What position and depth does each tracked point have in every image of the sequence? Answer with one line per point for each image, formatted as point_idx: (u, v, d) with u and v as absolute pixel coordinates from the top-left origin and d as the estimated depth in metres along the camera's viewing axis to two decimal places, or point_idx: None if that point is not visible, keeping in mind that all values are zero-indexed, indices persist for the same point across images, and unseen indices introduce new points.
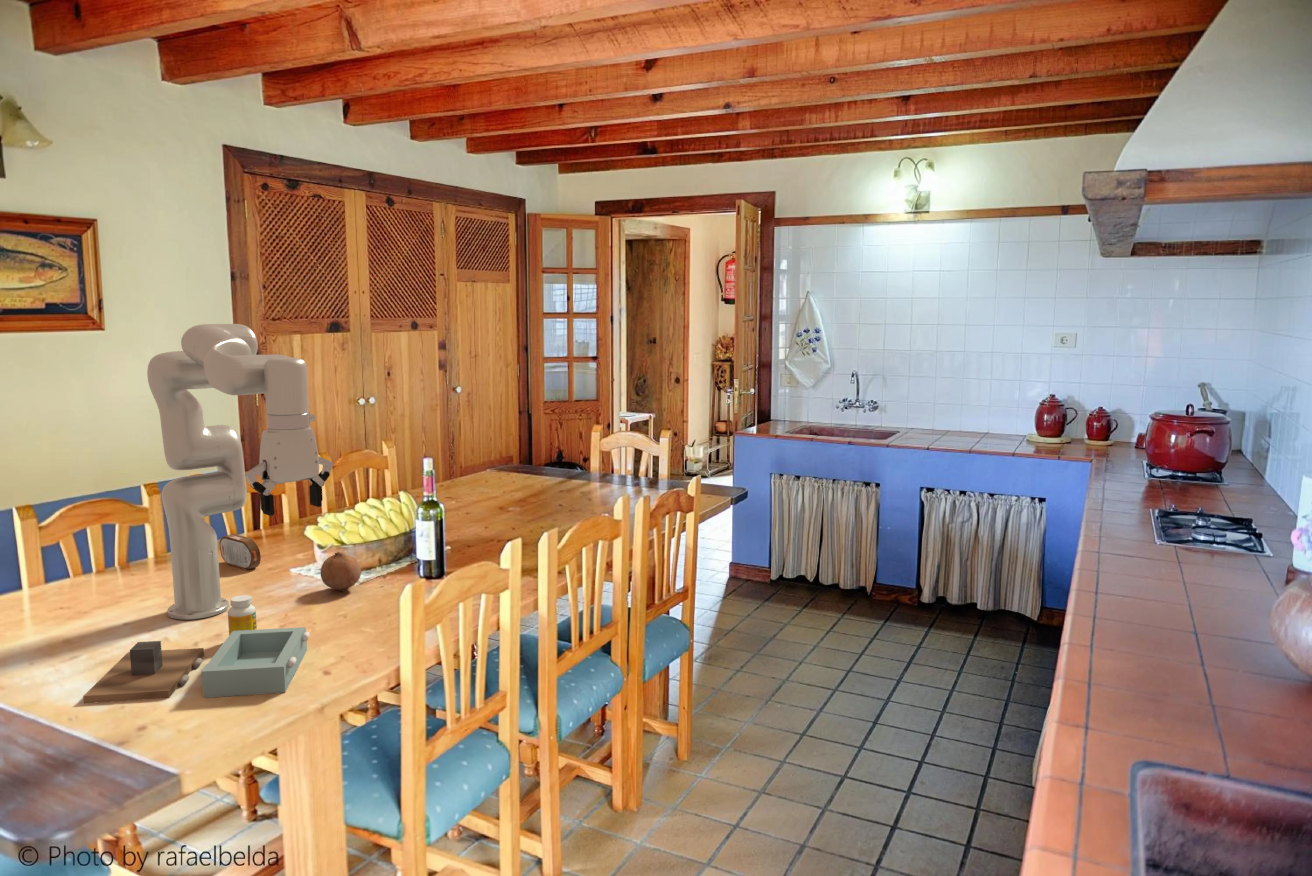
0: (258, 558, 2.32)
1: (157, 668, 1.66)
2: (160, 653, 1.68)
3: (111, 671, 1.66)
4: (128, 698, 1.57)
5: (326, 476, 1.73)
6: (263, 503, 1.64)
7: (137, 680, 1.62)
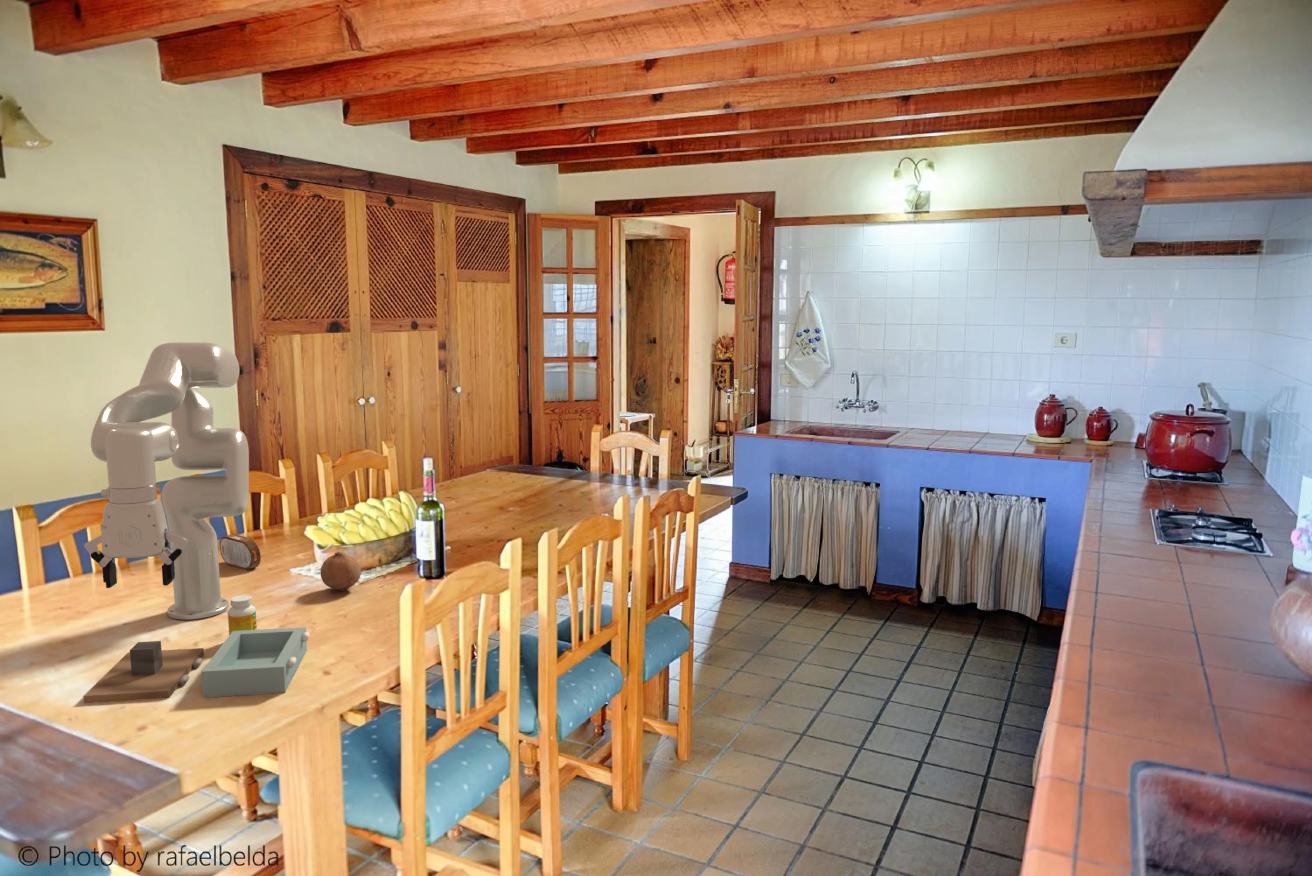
0: (258, 558, 2.32)
1: (158, 668, 1.66)
2: (160, 653, 1.68)
3: (111, 671, 1.66)
4: (128, 698, 1.57)
5: None
6: (173, 570, 1.65)
7: (137, 680, 1.62)
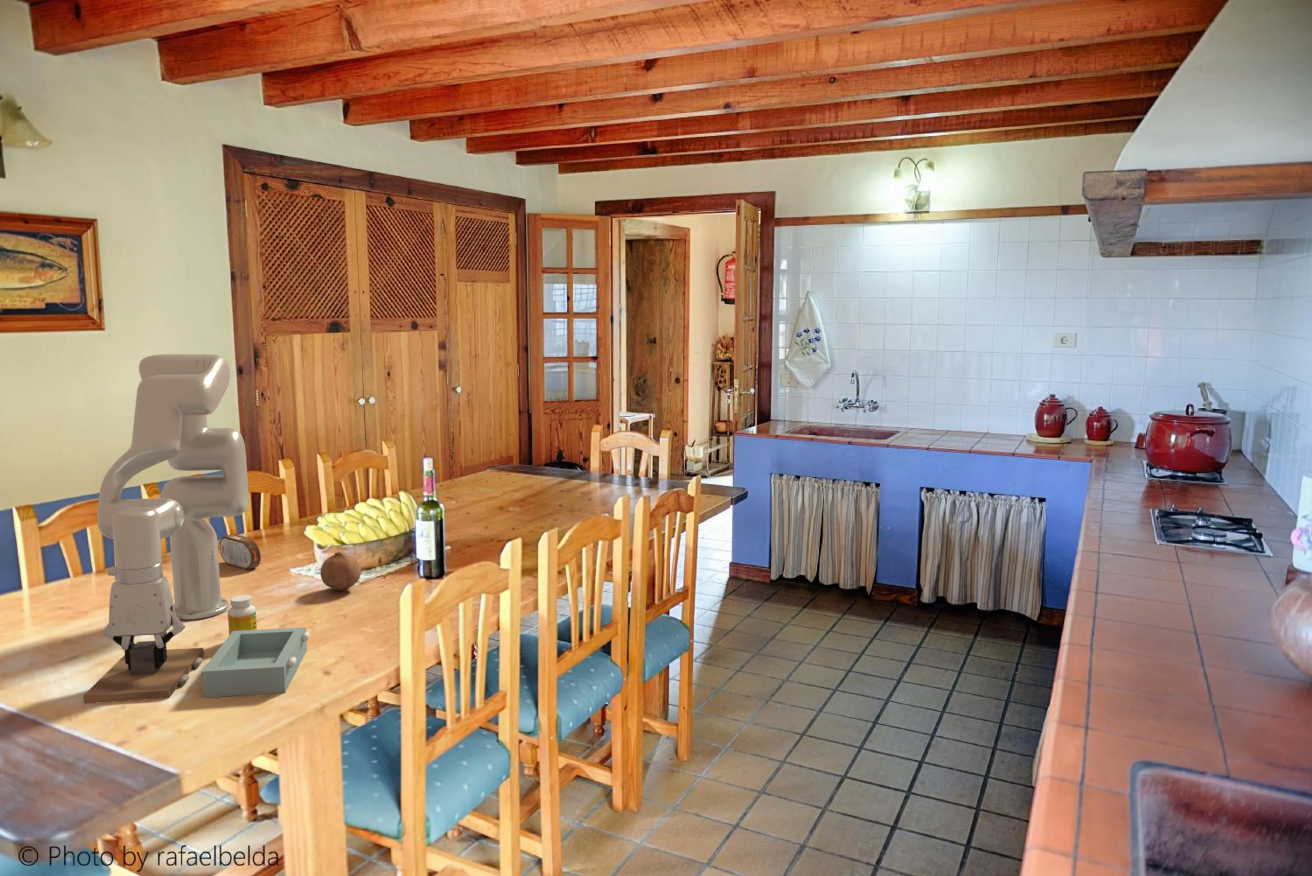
0: (258, 558, 2.32)
1: None
2: None
3: (111, 671, 1.66)
4: (128, 698, 1.57)
5: None
6: (165, 652, 1.67)
7: (137, 680, 1.62)
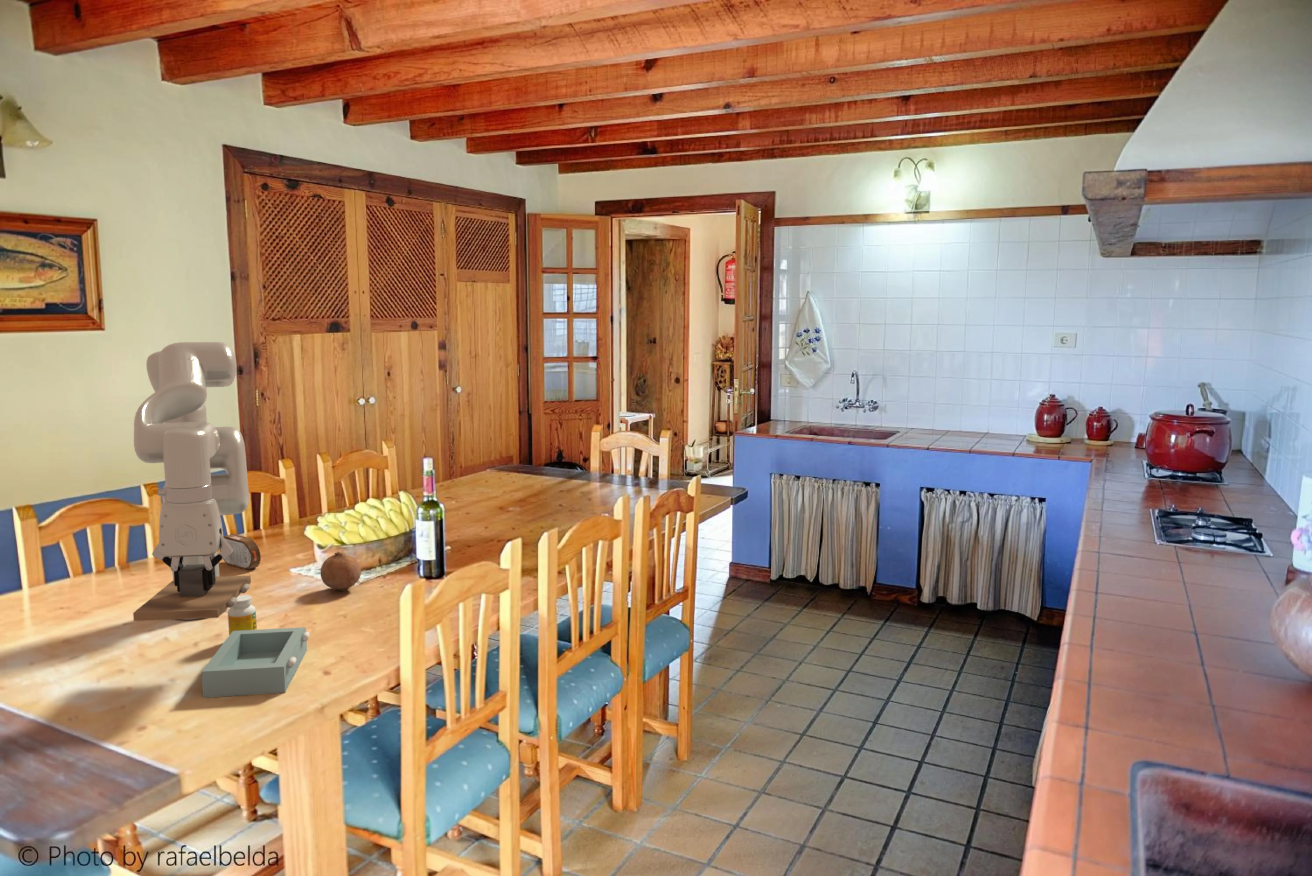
0: (258, 558, 2.32)
1: None
2: None
3: (160, 593, 1.65)
4: (177, 616, 1.56)
5: None
6: (214, 575, 1.66)
7: (186, 601, 1.61)
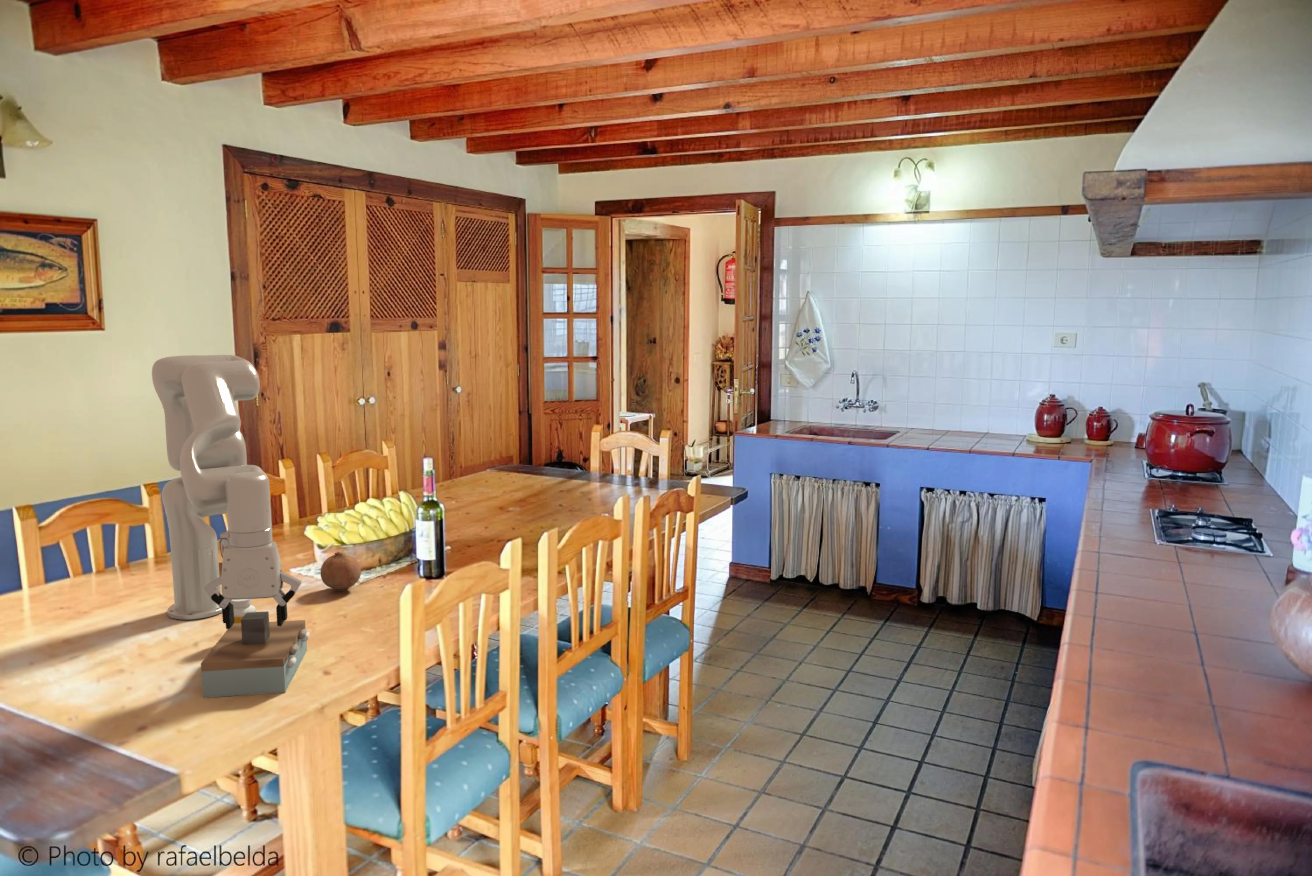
0: None
1: (266, 637, 1.69)
2: (268, 623, 1.70)
3: (221, 641, 1.68)
4: (244, 666, 1.59)
5: None
6: (286, 611, 1.69)
7: (249, 649, 1.64)
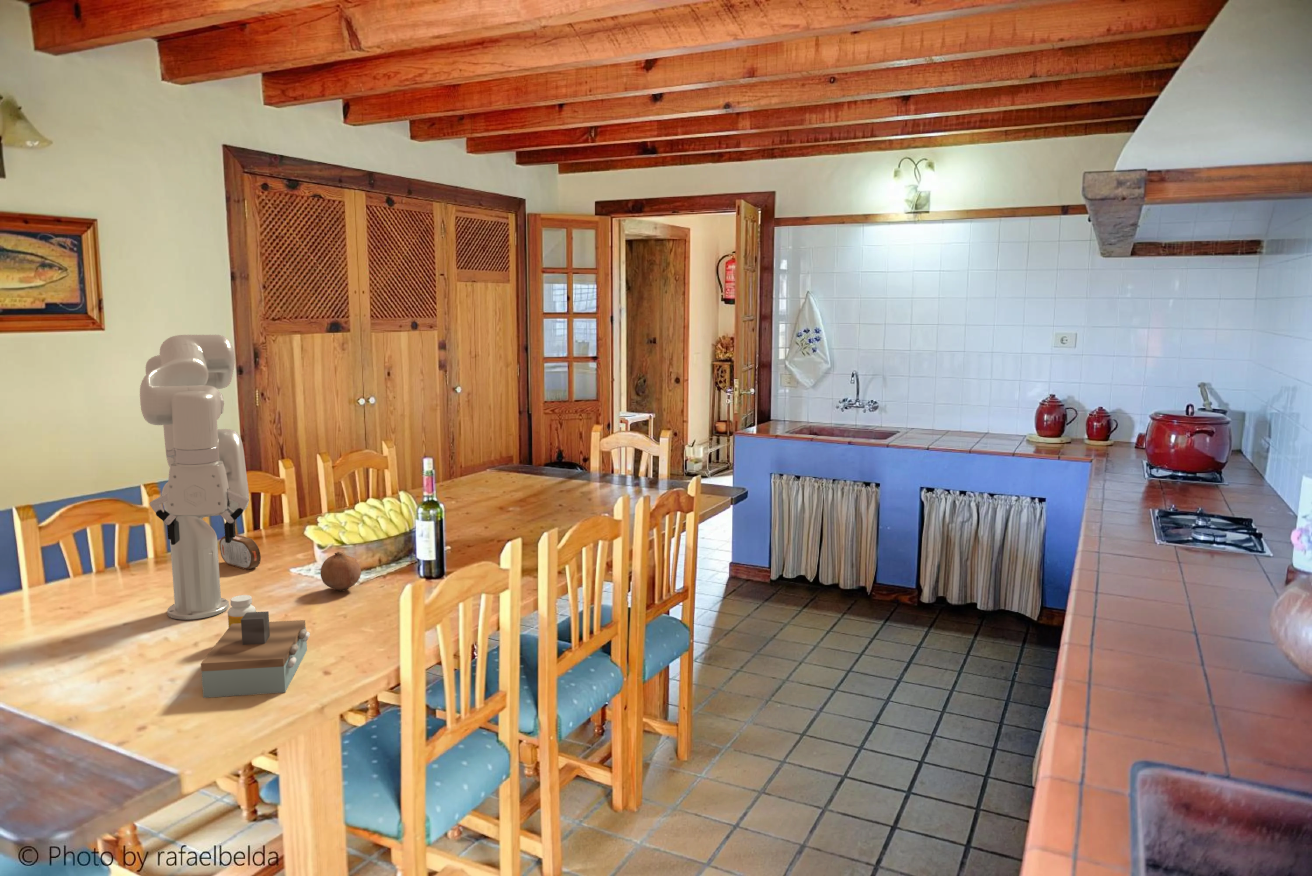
0: (258, 558, 2.32)
1: (266, 637, 1.69)
2: (268, 623, 1.70)
3: (221, 641, 1.68)
4: (244, 666, 1.59)
5: None
6: (234, 528, 1.71)
7: (249, 649, 1.64)
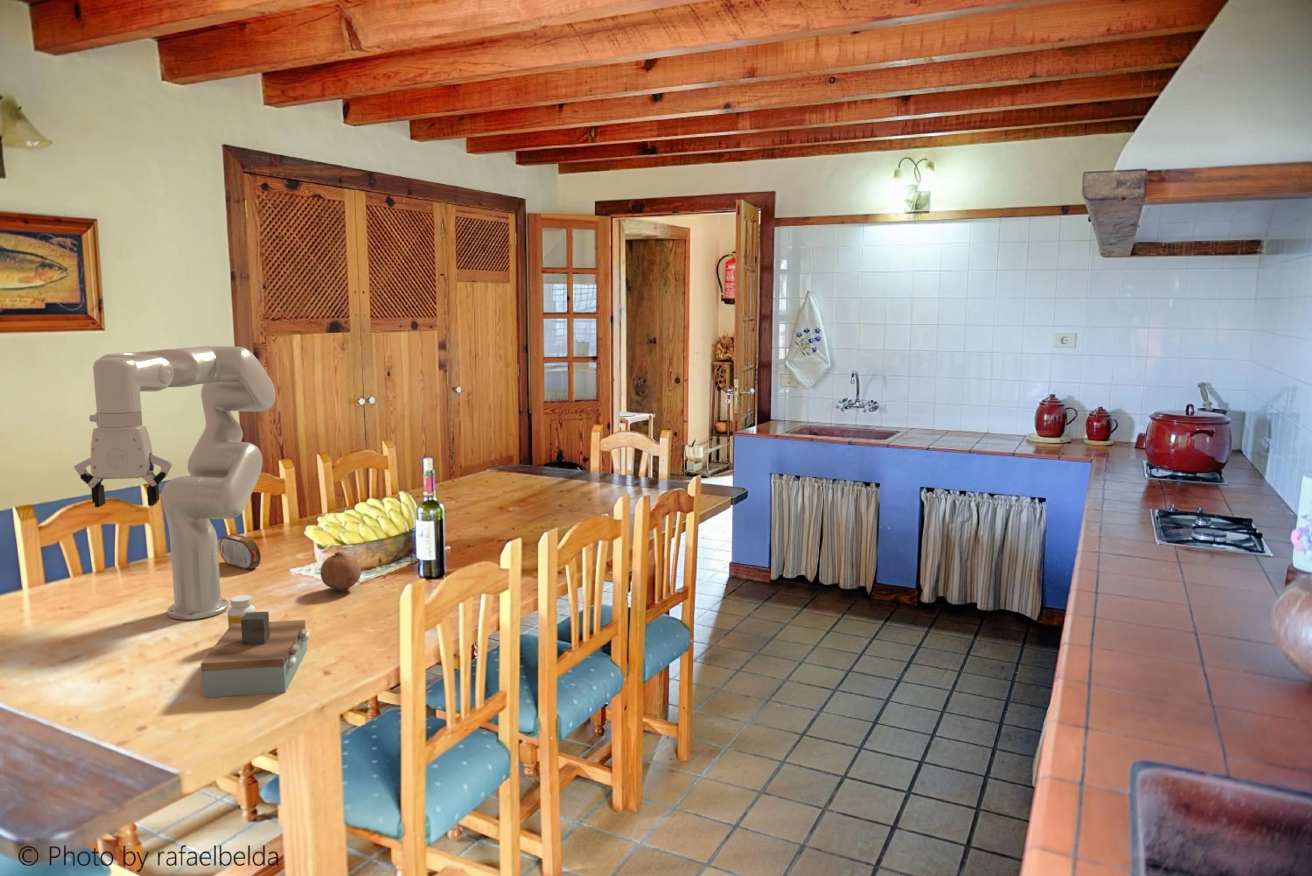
0: (258, 558, 2.32)
1: (266, 637, 1.69)
2: (268, 623, 1.70)
3: (221, 641, 1.68)
4: (244, 666, 1.59)
5: None
6: (158, 492, 1.76)
7: (249, 649, 1.64)
